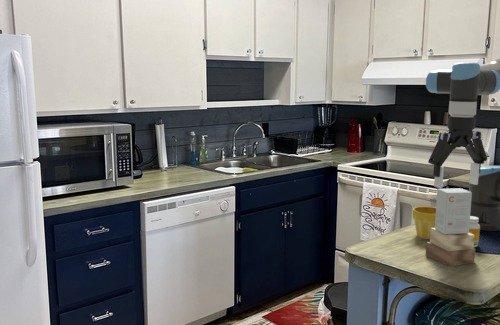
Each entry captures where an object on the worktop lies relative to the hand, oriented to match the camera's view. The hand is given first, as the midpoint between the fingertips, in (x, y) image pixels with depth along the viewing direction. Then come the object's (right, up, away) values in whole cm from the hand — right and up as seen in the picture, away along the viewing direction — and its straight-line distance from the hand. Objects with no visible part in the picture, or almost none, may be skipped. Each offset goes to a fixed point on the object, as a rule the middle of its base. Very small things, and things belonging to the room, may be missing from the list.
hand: (456, 185), depth 149 cm
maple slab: (0, -19, +4) cm, 19 cm away
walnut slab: (0, -23, +4) cm, 24 cm away
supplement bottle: (+12, -21, +17) cm, 29 cm away
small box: (0, -14, +3) cm, 15 cm away
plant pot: (0, -19, +25) cm, 32 cm away
